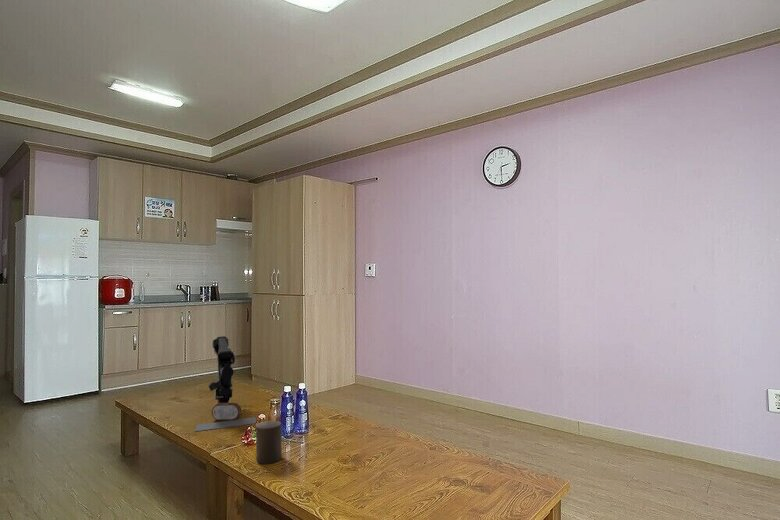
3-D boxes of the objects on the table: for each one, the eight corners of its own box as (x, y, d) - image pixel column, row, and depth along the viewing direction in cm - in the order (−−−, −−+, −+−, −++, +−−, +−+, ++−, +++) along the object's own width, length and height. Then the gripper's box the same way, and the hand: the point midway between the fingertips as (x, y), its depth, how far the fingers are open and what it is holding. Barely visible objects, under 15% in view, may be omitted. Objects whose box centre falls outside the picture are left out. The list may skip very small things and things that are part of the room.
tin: (241, 418, 231) (241, 401, 232) (239, 420, 228) (238, 403, 229) (213, 419, 232) (213, 402, 233) (210, 421, 229) (210, 404, 230)
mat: (196, 425, 223) (196, 424, 223) (255, 417, 233) (255, 417, 233) (194, 431, 214) (194, 431, 214) (256, 423, 223) (256, 422, 223)
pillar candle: (272, 465, 172) (271, 425, 172) (251, 462, 175) (250, 423, 176) (286, 456, 181) (286, 418, 182) (266, 453, 184) (265, 416, 185)
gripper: (210, 372, 242) (210, 402, 242) (208, 379, 225) (208, 411, 224) (231, 370, 246) (232, 399, 245) (231, 377, 228) (232, 408, 228)
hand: (226, 404), depth 235 cm, fingers closed
